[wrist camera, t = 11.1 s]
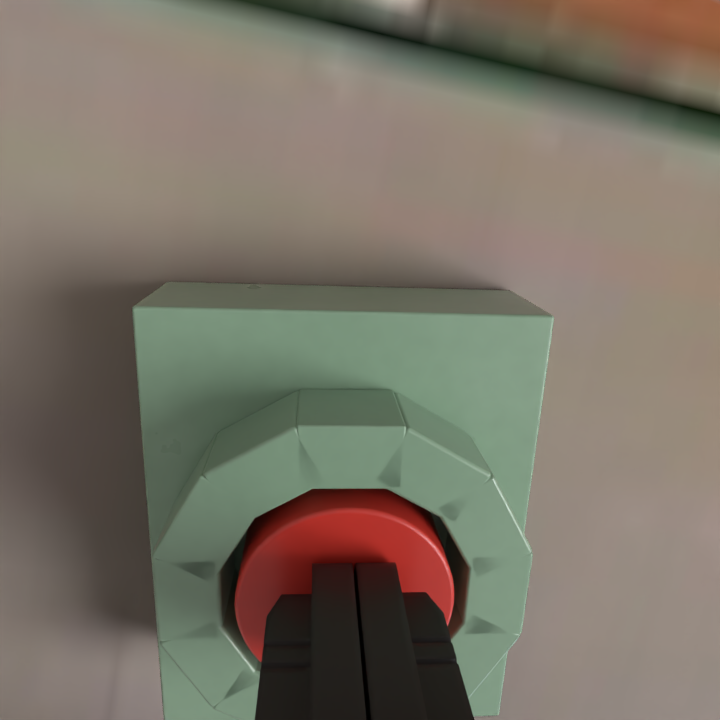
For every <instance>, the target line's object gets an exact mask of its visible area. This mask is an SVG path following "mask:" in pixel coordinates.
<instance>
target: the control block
mask: <svg viewBox="0 0 720 720" xmlns="http://www.w3.org/2000/svg"><path fill="white" fill-rule="evenodd" d="M132 316H133V329H134V342H135V355H136V368H137V380H138V393H139V406H140V419H141V432H142V445H143V458H144V471H145V483H146V496H147V509H148V522H149V535H150V548H151V561H152V574H153V586H154V599H155V612H156V625H157V638H158V651H159V664H160V677H161V689H162V702H163V715H164V720H255V713H256V704H257V696H258V687H259V678H260V670H261V662H260V661H259V660H258V659H257V658H256V657H255V656H254V654H253V653H252V652H251V651H250V649H249V648H248V646H247V645H246V643H245V641H244V639H243V637H242V635H241V632H240V630H239V627H238V624H237V620H236V615H235V606H234V604H235V591H236V585H237V580H238V575H239V570H240V565H241V560H242V555H243V549H244V544H245V539H246V535H247V530H248V528H249V526H250V525H251V523H252V522H253V520H254V518H256V517H258V516H260V515H262V514H264V513H266V512H268V511H270V510H272V509H274V508H276V507H278V506H280V505H282V504H284V503H286V502H288V501H290V500H292V499H294V498H295V497H297V496H299V495H301V494H303V493H305V492H307V491H309V490H311V489H388V490H390V491H392V492H394V493H396V494H397V495H399V496H401V497H403V498H405V499H407V500H409V501H411V502H412V503H414V504H416V505H418V506H420V507H422V508H424V509H426V510H428V511H429V512H430V513H431V515H432V517H433V520H434V523H435V526H436V528H437V531H438V534H439V537H440V540H441V543H442V546H443V549H444V552H445V555H446V558H447V561H448V564H449V567H450V570H451V573H452V577H453V583H454V605H453V610H452V615H451V618H450V621H449V624H448V630H449V633H450V637H451V643H452V644H453V647H454V651H455V654H456V658H457V664H459V668H460V671H461V675H462V678H463V682H464V685H465V689H466V692H467V696H468V699H469V703H470V706H471V710H472V713H473V716H497V715H499V710H500V703H501V695H502V688H503V681H504V674H505V667H506V660H507V652H508V650H509V649H510V648H511V647H512V645H513V644H514V643H515V642H516V641H517V639H518V638H519V637H520V634H521V632H522V626H523V619H524V612H525V605H526V598H527V591H528V584H529V578H530V571H531V564H532V557H533V554H532V548H531V546H530V544H529V542H528V540H527V538H526V536H525V534H524V530H525V523H526V516H527V509H528V501H529V494H530V487H531V480H532V473H533V466H534V458H535V451H536V444H537V437H538V430H539V422H540V415H541V408H542V401H543V394H544V387H545V379H546V372H547V365H548V358H549V351H550V343H551V336H552V329H553V322H554V317H553V315H551V314H549V313H548V312H546V311H544V310H543V309H541V308H539V307H537V306H536V305H534V304H532V303H531V302H529V301H527V300H526V299H524V298H522V297H520V296H519V295H517V294H515V293H514V292H512V291H510V290H475V289H436V288H396V287H357V286H318V285H279V284H240V283H201V282H167V283H165V284H164V285H162V286H161V287H160V288H158V289H157V290H155V291H154V292H153V293H151V294H150V295H148V296H147V297H146V298H144V299H143V300H141V301H140V302H139V303H137V304H136V305H134V306H133V308H132Z"/></svg>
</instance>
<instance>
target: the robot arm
mask: <svg viewBox="0 0 720 720" xmlns="http://www.w3.org/2000/svg"><path fill="white" fill-rule="evenodd" d="M255 720H474V717H473V713H472V710H471V706H470V703H469V699H468V696H467V692H466V689H465V685H464V682H463V678H462V675H461V671H460V668H459V664H457V658H456V654H455V651H454V647H453V644H452V643H451V637H450V633H449V630H448V626H447V623H446V619H445V616H444V613H443V611H442V610H441V609H440V608H439V607H438V606H437V604H436V603H435V602H434V601H433V600H432V599H431V597H430V596H429V595H428V594H427V593H426V592H402V590H401V585H400V580H399V575H398V570H397V566H396V563H395V562H389V563H355V567H354V575H353V565H352V563H312V594H281V596H280V597H279V599H278V600H277V602H276V603H275V605H274V606H273V608H272V609H271V610H270V612H269V613H268V615H267V618H266V626H265V635H264V647H263V652H262V661H261V670H260V678H259V687H258V696H257V704H256V713H255Z"/></svg>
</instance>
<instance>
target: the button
mask: <svg viewBox="0 0 720 720" xmlns="http://www.w3.org/2000/svg"><path fill="white" fill-rule="evenodd" d="M389 562H395V563H396V566H397V570H398V575H399V580H400V585H401V590H402V592H426V593H427V594H428V595H429V596H430V597H431V599H432V600H433V601H434V602H435V603H436V604H437V606H438V607H439V608H440V609H441V610H442V611H443V613H444V616H445V619H446V623H447V626H448V624H449V621H450V618H451V615H452V610H453V605H454V583H453V577H452V573H451V570H450V567H449V564H448V561H447V558H446V555H445V552H444V549H443V546H442V543H441V540H440V537H439V534H438V531H437V528H436V526H435V523H434V520H433V517H432V515H431V513H430V512H429V511H428V510H426V509H424V508H422V507H420V506H418V505H416V504H414V503H412V502H411V501H409V500H407V499H405V498H403V497H401V496H399V495H397V494H396V493H394V492H392V491H390V490H388V489H311V490H309V491H307V492H305V493H303V494H301V495H299V496H297V497H295V498H294V499H292V500H290V501H288V502H286V503H284V504H282V505H280V506H278V507H276V508H274V509H272V510H270V511H268V512H266V513H264V514H262V515H260V516H258V517H256V518H254V520H253V522H252V523H251V525H250V526H249V528H248V530H247V535H246V539H245V544H244V549H243V555H242V560H241V565H240V570H239V575H238V580H237V585H236V591H235V604H234V606H235V615H236V620H237V624H238V627H239V630H240V632H241V635H242V637H243V639H244V641H245V643H246V645H247V646H248V648H249V649H250V651H251V652H252V653H253V654H254V656H255V657H256V658H257V659H258V660H259V661H260V662H261V661H262V652H263V647H264V635H265V626H266V618H267V615H268V613H269V612H270V610H271V609H272V608H273V606H274V605H275V603H276V602H277V600H278V599H279V597H280V596H281V594H312V563H352V565H353V575H354V567H355V563H389Z"/></svg>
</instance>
